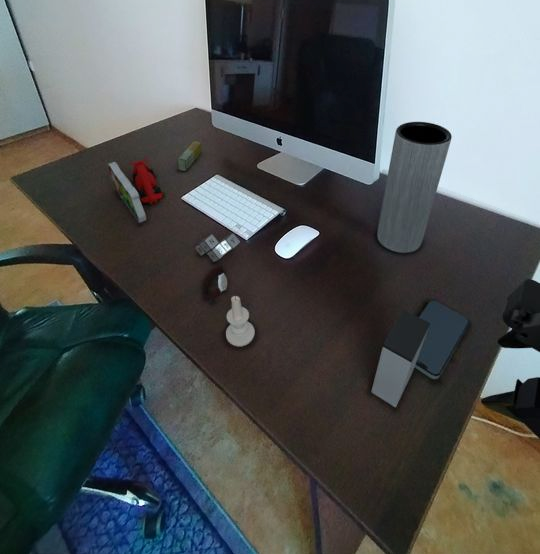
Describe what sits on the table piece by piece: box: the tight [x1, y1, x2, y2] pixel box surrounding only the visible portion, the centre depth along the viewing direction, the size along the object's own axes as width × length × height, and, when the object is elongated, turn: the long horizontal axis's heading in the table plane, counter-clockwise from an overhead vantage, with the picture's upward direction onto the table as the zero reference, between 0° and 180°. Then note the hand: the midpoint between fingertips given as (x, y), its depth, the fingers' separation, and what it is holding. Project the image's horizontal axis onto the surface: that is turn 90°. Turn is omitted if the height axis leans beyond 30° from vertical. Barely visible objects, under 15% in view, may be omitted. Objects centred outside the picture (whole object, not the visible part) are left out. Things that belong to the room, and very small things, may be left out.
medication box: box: [177, 141, 202, 172], centre depth 117 cm, size 12×3×4 cm, turn 165°
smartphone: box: [414, 299, 470, 380], centre depth 64 cm, size 8×2×15 cm
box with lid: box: [370, 309, 430, 408], centre depth 55 cm, size 4×7×13 cm, turn 143°
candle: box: [225, 295, 256, 347], centre depth 64 cm, size 5×5×10 cm
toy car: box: [129, 158, 163, 205], centre depth 105 cm, size 6×18×5 cm, turn 26°
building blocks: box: [193, 232, 241, 263], centre depth 82 cm, size 5×5×8 cm
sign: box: [107, 161, 147, 224], centre depth 98 cm, size 22×2×10 cm, turn 36°
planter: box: [376, 121, 453, 254], centre depth 78 cm, size 10×10×27 cm
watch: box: [202, 266, 228, 301], centre depth 75 cm, size 8×5×4 cm, turn 172°
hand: (492, 371), depth 45 cm, fingers open, 9 cm apart
